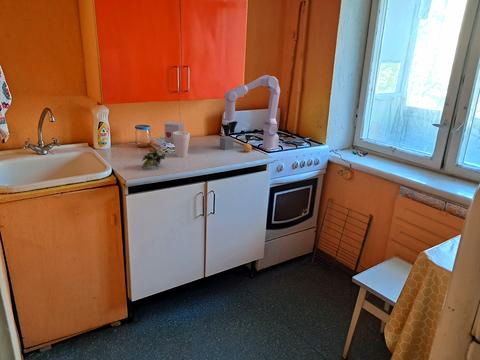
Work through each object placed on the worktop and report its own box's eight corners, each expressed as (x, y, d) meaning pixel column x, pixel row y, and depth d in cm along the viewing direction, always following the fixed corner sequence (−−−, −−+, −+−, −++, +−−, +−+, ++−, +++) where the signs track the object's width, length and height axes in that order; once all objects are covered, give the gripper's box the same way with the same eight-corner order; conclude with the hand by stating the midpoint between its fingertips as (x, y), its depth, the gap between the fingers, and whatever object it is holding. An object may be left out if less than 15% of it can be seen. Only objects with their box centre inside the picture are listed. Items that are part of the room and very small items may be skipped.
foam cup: (169, 155, 213) (169, 133, 209) (179, 152, 221) (179, 130, 217) (183, 158, 209) (183, 135, 205) (193, 154, 217) (193, 132, 213)
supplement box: (164, 147, 228) (163, 123, 223) (170, 144, 237) (169, 120, 231) (178, 149, 227) (178, 124, 221) (184, 145, 235) (183, 121, 230)
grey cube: (227, 146, 238) (227, 136, 236) (233, 148, 233) (233, 138, 231) (219, 147, 234) (219, 137, 232) (225, 149, 230) (225, 139, 228)
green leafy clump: (154, 174, 199) (164, 154, 201) (162, 177, 190) (172, 156, 192) (135, 165, 193) (146, 144, 195) (142, 167, 184) (154, 145, 186)
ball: (247, 150, 232) (248, 142, 230) (253, 152, 228) (253, 144, 226) (241, 151, 229) (241, 143, 227) (246, 153, 225) (246, 145, 223)
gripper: (228, 109, 229) (228, 131, 234) (218, 113, 216) (217, 136, 221) (239, 110, 226) (238, 132, 231) (229, 114, 214) (228, 137, 219)
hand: (229, 134), depth 226 cm, fingers open, 7 cm apart
